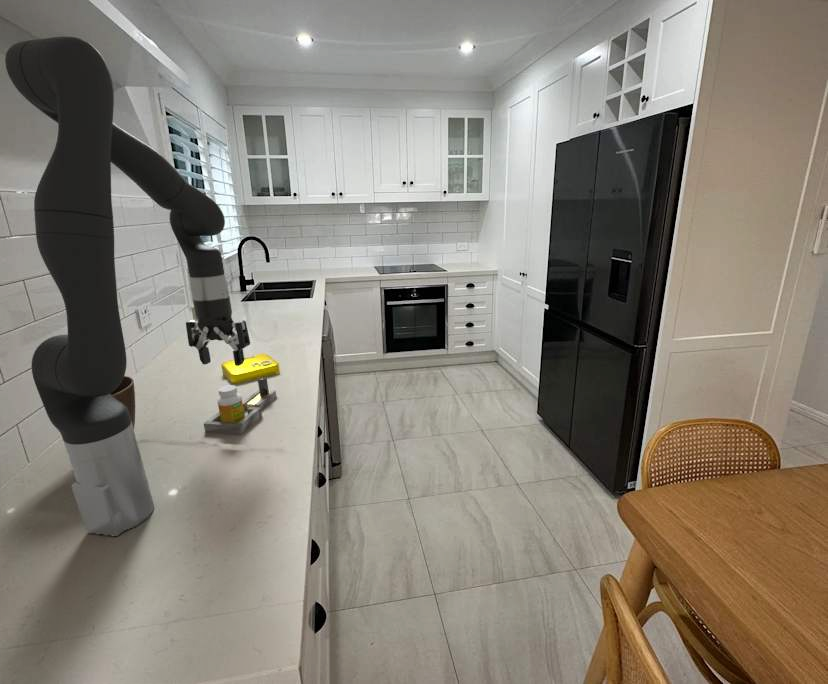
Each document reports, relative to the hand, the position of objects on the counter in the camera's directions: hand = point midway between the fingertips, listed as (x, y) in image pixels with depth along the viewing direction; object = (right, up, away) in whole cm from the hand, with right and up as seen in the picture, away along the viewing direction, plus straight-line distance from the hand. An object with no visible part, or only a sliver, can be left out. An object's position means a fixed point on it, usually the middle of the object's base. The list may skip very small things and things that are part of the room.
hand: (223, 364), depth 100 cm
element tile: (-8, -6, +39) cm, 41 cm away
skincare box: (-48, +9, +90) cm, 102 cm away
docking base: (+2, -14, +11) cm, 18 cm away
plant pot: (-23, -20, -5) cm, 31 cm away
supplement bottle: (+1, -15, +5) cm, 16 cm away
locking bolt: (+3, -11, +16) cm, 19 cm away
